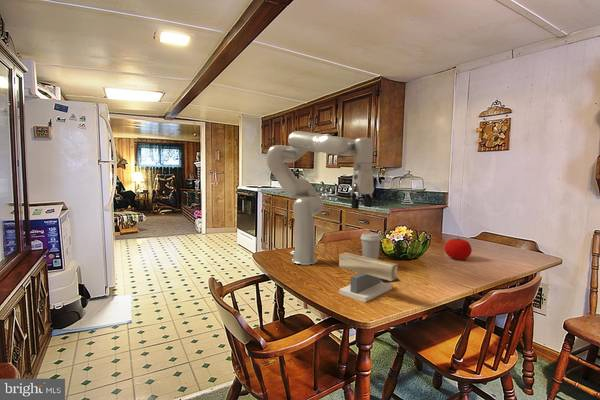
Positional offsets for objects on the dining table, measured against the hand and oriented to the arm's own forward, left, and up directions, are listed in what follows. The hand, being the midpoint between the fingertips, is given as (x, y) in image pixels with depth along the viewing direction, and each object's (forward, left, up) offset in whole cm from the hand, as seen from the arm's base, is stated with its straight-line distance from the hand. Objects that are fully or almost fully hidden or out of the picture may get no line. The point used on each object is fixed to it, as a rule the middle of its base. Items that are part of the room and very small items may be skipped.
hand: (361, 207), depth 136 cm
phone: (+9, +2, -29) cm, 30 cm away
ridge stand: (+14, -17, -28) cm, 36 cm away
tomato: (+22, +54, -28) cm, 65 cm away
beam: (+14, -17, -21) cm, 31 cm away
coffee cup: (-2, +11, -28) cm, 31 cm away
